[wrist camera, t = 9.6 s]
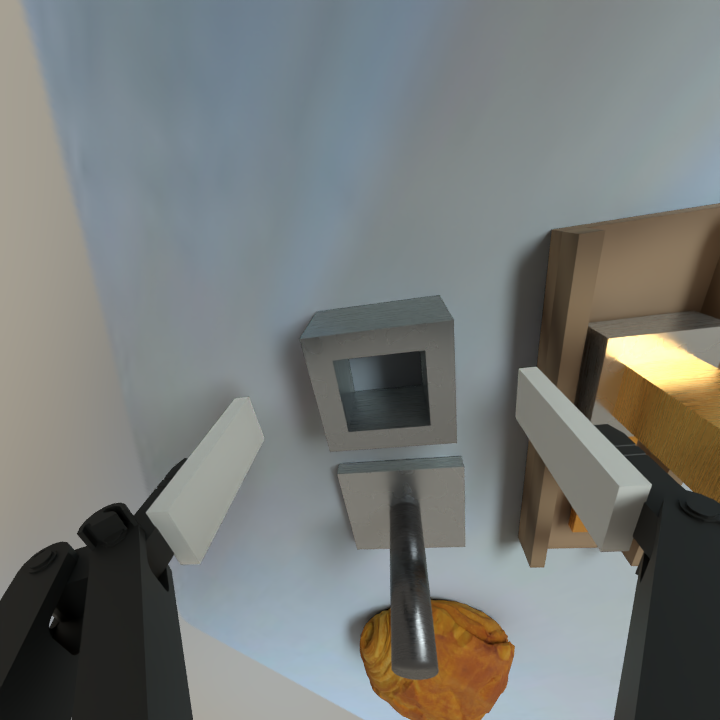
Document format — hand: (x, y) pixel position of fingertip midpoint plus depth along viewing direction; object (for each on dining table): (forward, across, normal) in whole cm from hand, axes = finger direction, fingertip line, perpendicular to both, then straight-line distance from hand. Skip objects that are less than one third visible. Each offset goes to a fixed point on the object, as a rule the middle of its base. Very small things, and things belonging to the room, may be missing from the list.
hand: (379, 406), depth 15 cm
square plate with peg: (+5, 0, -12) cm, 13 cm away
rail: (+4, +13, -6) cm, 15 cm away
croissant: (+5, +2, -34) cm, 34 cm away
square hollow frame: (+4, 0, 0) cm, 4 cm away
